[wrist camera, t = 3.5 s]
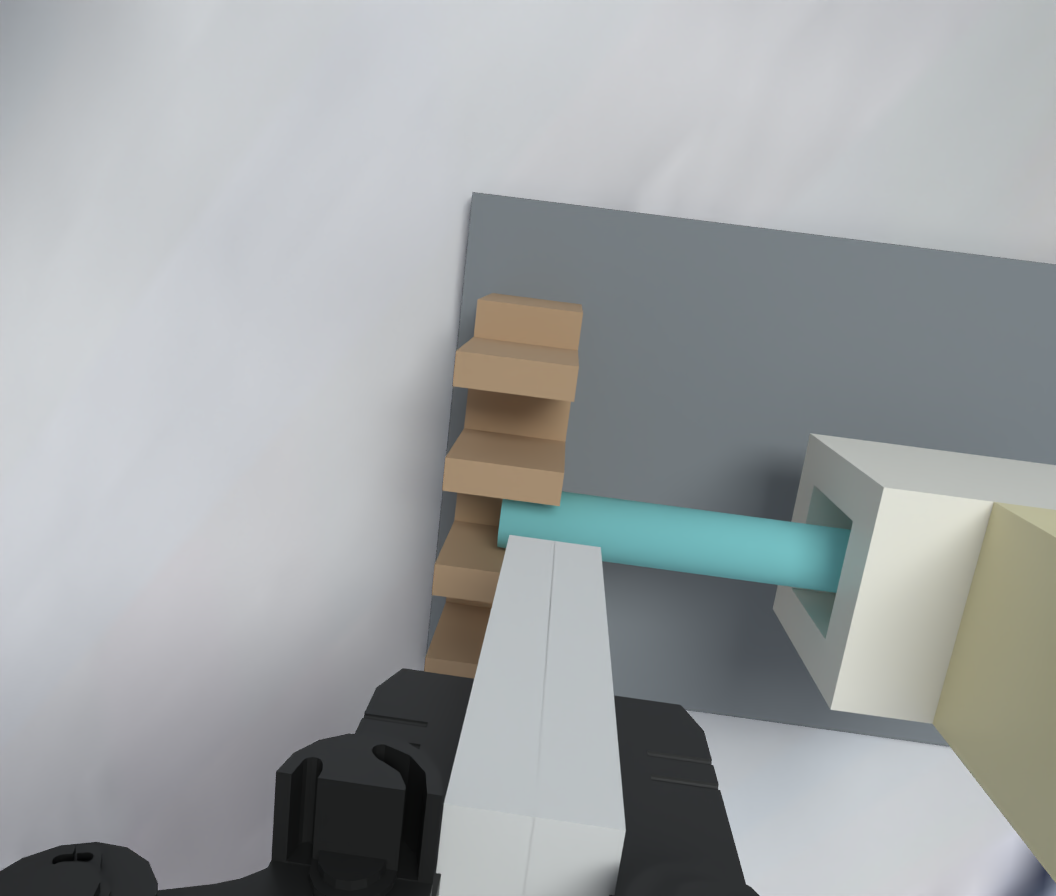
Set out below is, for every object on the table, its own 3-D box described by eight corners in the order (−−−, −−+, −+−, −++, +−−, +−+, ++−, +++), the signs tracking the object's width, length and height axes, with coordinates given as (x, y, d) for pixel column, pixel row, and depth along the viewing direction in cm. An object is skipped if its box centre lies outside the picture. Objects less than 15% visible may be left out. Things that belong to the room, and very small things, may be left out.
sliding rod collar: (772, 608, 20) (948, 915, 11) (810, 433, 19) (1042, 602, 10) (1010, 640, 20) (1400, 980, 10) (1062, 466, 19) (1547, 671, 9)
